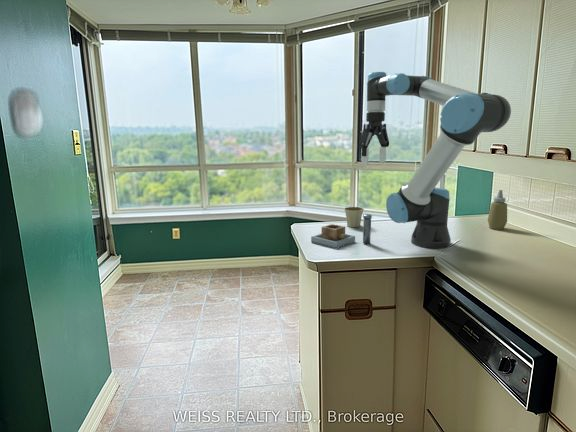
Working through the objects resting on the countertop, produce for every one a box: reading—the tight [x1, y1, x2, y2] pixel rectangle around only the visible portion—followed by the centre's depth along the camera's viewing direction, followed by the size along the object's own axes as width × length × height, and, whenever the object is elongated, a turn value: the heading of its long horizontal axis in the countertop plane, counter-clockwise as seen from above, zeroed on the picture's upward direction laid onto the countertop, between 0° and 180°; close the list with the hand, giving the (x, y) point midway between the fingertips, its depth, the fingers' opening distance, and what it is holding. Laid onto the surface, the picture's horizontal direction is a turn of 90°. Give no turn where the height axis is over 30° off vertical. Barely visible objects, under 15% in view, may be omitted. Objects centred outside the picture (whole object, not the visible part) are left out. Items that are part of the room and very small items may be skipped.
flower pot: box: [343, 206, 365, 228], centre depth 187 cm, size 9×9×9 cm
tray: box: [310, 232, 356, 249], centre depth 162 cm, size 13×13×2 cm
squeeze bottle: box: [487, 189, 508, 231], centre depth 178 cm, size 8×8×18 cm
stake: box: [362, 213, 373, 245], centre depth 158 cm, size 3×3×12 cm
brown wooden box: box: [321, 223, 346, 242], centre depth 161 cm, size 9×7×6 cm
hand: (373, 163), depth 166 cm, fingers open, 13 cm apart
